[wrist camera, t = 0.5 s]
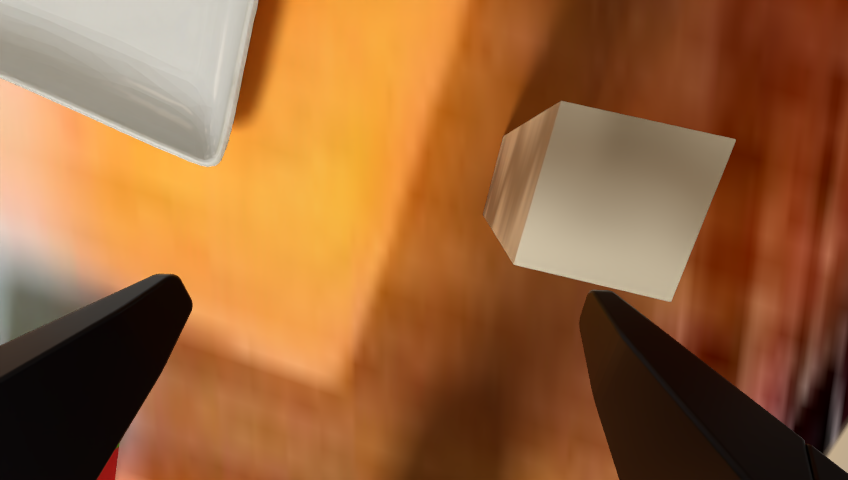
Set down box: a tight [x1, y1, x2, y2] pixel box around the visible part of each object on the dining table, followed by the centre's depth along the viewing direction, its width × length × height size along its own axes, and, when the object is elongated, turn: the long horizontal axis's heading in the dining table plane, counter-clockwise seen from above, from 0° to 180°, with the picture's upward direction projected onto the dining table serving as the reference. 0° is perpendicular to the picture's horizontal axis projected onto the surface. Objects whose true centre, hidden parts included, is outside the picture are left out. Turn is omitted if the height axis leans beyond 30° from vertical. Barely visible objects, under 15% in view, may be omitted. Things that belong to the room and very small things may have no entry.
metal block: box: [483, 101, 736, 302], centre depth 16 cm, size 5×5×12 cm
